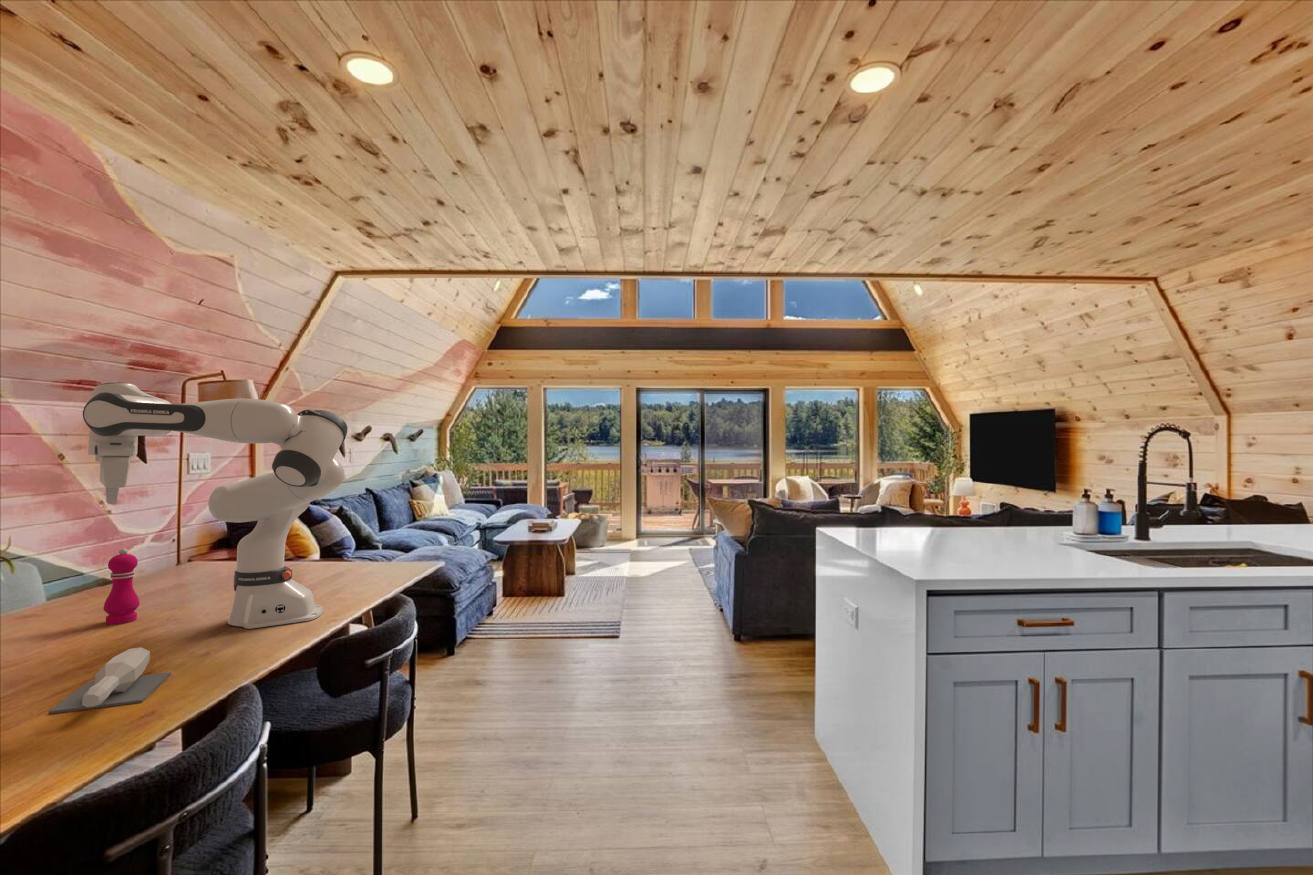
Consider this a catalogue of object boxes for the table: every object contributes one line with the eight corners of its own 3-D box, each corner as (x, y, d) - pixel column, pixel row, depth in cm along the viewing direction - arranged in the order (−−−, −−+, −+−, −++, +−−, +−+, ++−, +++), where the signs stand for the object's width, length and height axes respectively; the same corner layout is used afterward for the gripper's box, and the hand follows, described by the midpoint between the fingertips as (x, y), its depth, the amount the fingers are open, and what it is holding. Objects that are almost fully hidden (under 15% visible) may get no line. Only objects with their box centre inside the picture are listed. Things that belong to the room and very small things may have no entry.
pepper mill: (108, 627, 151) (110, 551, 151) (99, 622, 155) (101, 548, 155) (143, 620, 157) (145, 548, 157) (133, 615, 161) (135, 545, 161)
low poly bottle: (161, 646, 123) (120, 685, 104) (148, 675, 122) (104, 720, 103) (125, 640, 121) (76, 680, 101) (111, 670, 120) (59, 716, 100)
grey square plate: (171, 674, 122) (171, 671, 122) (142, 702, 109) (142, 699, 109) (89, 683, 117) (89, 681, 117) (48, 713, 104) (48, 711, 104)
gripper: (93, 446, 145) (91, 500, 145) (98, 449, 132) (96, 508, 131) (126, 446, 150) (124, 498, 150) (135, 449, 136) (133, 506, 136)
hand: (111, 503), depth 141 cm, fingers closed
